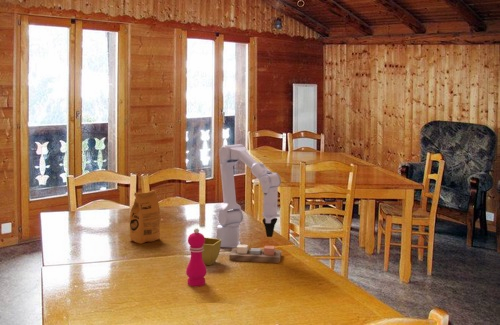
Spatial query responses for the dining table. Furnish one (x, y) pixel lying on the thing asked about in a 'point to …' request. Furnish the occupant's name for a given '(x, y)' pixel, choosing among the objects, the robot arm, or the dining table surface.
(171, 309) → the dining table surface
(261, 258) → the walnut bezel
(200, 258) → the pepper mill
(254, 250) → the slate key
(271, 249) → the brick key
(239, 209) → the robot arm
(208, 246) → the flower pot
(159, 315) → the dining table surface
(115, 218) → the dining table surface
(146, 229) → the coffee package
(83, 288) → the dining table surface
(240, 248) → the ivory key
